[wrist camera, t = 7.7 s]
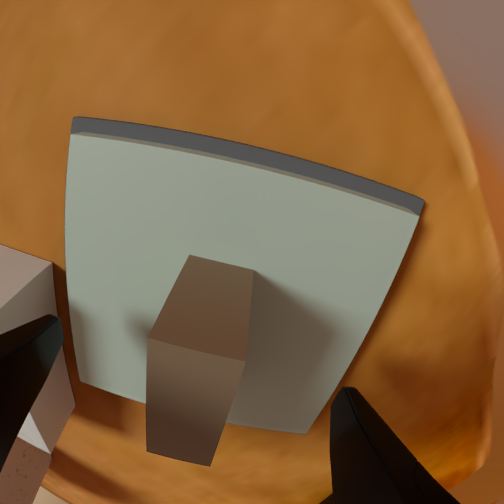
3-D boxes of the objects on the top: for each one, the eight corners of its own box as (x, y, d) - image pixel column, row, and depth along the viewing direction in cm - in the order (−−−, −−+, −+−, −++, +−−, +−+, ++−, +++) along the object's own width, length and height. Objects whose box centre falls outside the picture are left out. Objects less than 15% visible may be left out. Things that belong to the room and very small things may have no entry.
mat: (419, 197, 10) (425, 200, 9) (308, 422, 15) (308, 428, 14) (79, 116, 9) (73, 116, 9) (81, 368, 14) (78, 373, 13)
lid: (409, 209, 9) (493, 278, 5) (304, 421, 14) (310, 506, 10) (83, 132, 9) (-23, 156, 4) (86, 370, 13) (46, 443, 9)
